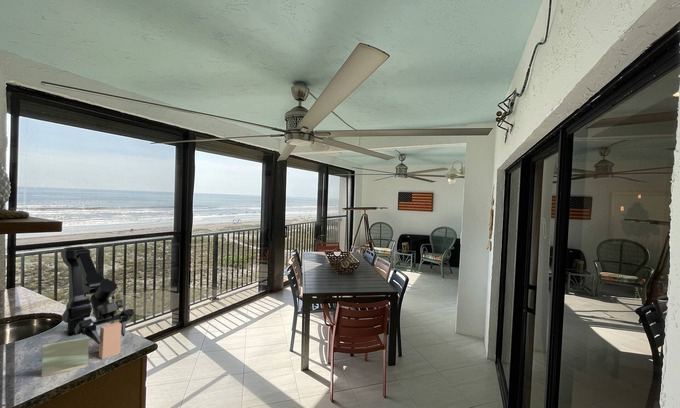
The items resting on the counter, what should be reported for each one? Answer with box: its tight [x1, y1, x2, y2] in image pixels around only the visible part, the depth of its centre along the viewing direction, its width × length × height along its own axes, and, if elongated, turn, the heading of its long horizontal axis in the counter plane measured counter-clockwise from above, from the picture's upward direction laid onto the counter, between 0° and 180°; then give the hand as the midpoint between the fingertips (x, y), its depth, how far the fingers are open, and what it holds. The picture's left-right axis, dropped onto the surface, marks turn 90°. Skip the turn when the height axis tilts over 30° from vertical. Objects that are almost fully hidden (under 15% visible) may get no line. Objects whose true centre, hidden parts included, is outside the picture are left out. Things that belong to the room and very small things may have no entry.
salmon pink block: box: [98, 321, 122, 360], centre depth 117 cm, size 3×6×12 cm, turn 149°
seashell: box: [88, 335, 100, 354], centre depth 122 cm, size 10×6×10 cm
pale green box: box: [41, 336, 90, 378], centre depth 108 cm, size 10×12×11 cm
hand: (112, 339), depth 116 cm, fingers open, 8 cm apart
